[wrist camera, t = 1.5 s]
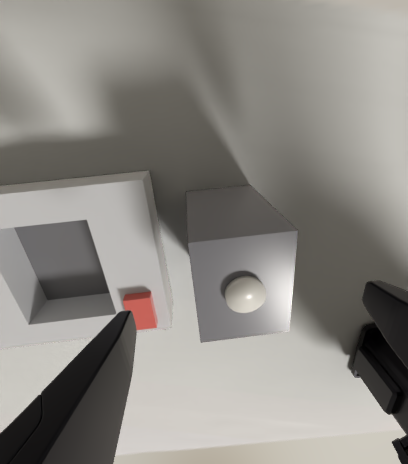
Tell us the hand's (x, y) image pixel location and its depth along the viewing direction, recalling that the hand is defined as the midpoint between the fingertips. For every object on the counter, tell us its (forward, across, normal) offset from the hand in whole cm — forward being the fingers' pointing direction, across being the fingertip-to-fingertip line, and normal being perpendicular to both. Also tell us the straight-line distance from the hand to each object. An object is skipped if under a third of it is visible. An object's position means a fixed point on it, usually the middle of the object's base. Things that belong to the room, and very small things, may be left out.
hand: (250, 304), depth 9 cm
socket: (+8, +10, +1) cm, 13 cm away
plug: (+8, 0, 0) cm, 8 cm away
